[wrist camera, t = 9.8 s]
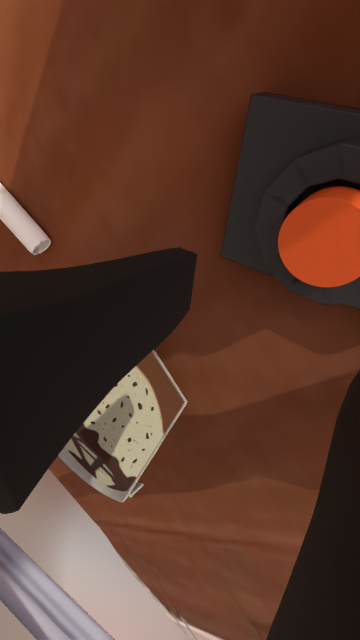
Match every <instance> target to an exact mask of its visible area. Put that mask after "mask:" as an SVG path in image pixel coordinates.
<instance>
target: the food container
mask: <svg viewBox="0 0 360 640" xmlns="http://www.w3.org/2000/svg"><path fill="white" fill-rule="evenodd" d="M187 403H188V402H187V400H186V399H185V397H184V396H183V394H182V392H181V391H180V389H179V388H178V386H177V385H176V383H175V381H174V380H173V378H172V377H171V375H170V374H169V372H168V370H167V369H166V367H165V366H164V364H163V363H162V361H161V360H160V358H159V356H158V355H157V353H156V352H155V350H153V351H152V352H151V353H150V354H148V355H147V356H146V357H145V358H144V359H143V360H142V361H141V362H140V363H139V364H138V365H137V366H135V367H134V368H133V369H132V370H131V371H130V372H129V373H128V374H127V375H126V376H125V377H124V378H123V379H122V380H121V381H120V382H119V383H118V384H117V385H116V386H115V387H114V388H113V389H112V390H111V391H110V392H109V393H108V395H107V396H106V397H105V398H104V399H103V400H102V402H101V403H100V404H99V405H98V406H97V407H96V408H95V410H94V411H93V412H92V413H91V414H90V416H89V417H88V418H87V419H86V421H85V422H84V423H83V424H82V425H81V427H80V428H79V429H78V430H77V432H76V433H75V434H74V435H73V437H72V438H71V439H70V440H69V442H68V443H67V444H66V446H65V447H64V448H63V450H62V451H61V452H60V453H59V455H58V456H59V457H60V458H61V460H62V461H63V462H64V463H65V464H66V465H67V466H68V467H69V468H70V469H72V470H73V471H74V472H75V473H76V474H77V475H78V476H79V477H80V478H82V479H83V480H84V481H85V482H87V483H88V484H89V485H91V486H92V487H93V488H95V489H96V490H98V491H99V492H101V493H102V494H104V495H106V496H108V497H110V498H112V499H114V500H116V501H119V502H122V503H123V502H124V501H125V500H126V498H127V497H129V498H131V497H132V496H133V495H134V494H135V493H136V492H137V491H138V490H139V489H140V488H141V487H142V486H143V483H139V482H138V480H139V478H140V477H141V475H142V474H143V472H144V471H145V469H146V467H147V466H148V464H149V463H150V461H151V459H152V458H153V456H154V455H155V453H156V452H157V450H158V448H159V447H160V445H161V444H162V442H163V441H164V439H165V437H166V436H167V434H168V433H169V431H170V430H171V428H172V426H173V425H174V423H175V422H176V420H177V419H178V417H179V415H180V414H181V412H182V411H183V409H184V407H185V406H186V404H187Z"/></svg>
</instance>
